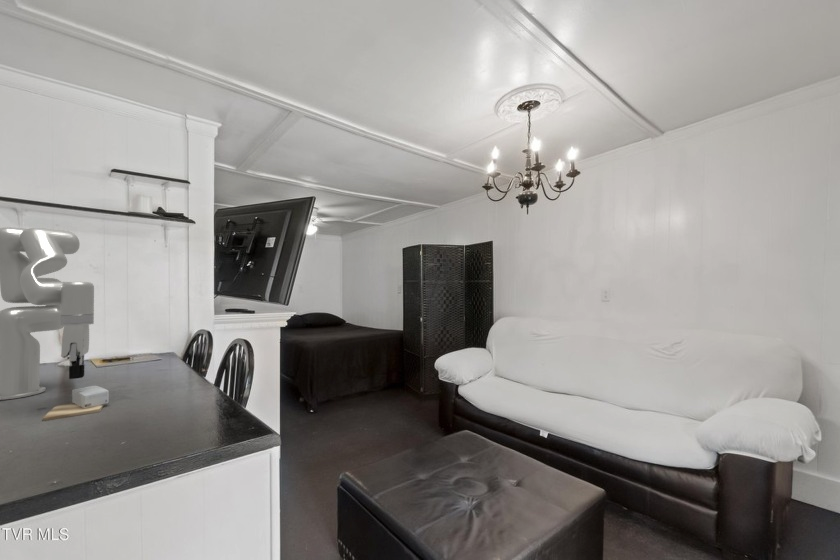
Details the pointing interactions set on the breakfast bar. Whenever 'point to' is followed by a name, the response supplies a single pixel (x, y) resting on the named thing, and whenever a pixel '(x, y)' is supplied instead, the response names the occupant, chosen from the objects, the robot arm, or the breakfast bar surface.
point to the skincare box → (90, 396)
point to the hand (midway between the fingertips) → (76, 377)
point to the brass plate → (69, 411)
